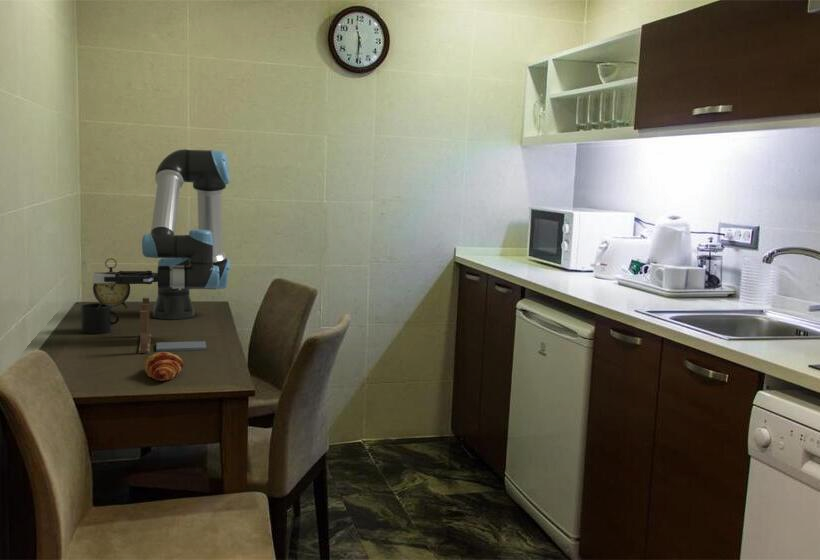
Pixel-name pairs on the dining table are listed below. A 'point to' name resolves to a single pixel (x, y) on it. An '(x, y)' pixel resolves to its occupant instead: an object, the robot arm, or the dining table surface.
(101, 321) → the mug
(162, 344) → the pad
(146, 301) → the slalom posts
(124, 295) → the alarm clock
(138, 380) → the dining table surface
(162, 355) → the croissant
